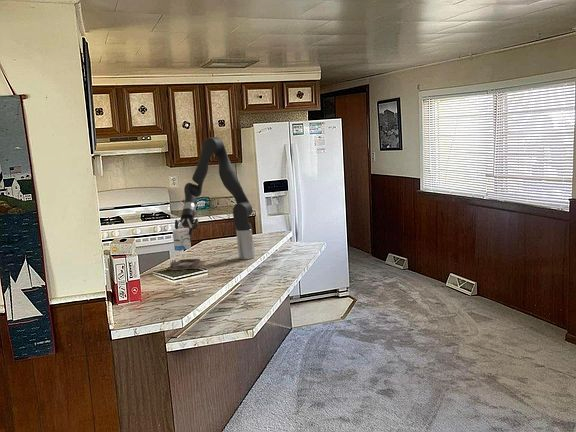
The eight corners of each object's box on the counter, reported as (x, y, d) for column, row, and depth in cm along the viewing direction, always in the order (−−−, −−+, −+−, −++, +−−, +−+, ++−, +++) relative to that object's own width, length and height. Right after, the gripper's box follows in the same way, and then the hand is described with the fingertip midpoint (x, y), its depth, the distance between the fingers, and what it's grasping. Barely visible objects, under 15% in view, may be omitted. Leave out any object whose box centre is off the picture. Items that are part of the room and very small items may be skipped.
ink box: (180, 251, 298) (177, 230, 296) (174, 250, 301) (171, 230, 299) (191, 247, 304) (189, 227, 303) (185, 247, 308) (183, 227, 306)
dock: (205, 262, 311) (205, 256, 311) (196, 269, 294) (195, 263, 293) (176, 263, 314) (176, 257, 313) (165, 271, 296) (164, 264, 296)
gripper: (175, 208, 311) (170, 232, 301) (198, 207, 309) (194, 230, 299) (179, 215, 317) (174, 239, 307) (202, 214, 315) (198, 238, 305)
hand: (184, 234), depth 303 cm, fingers closed on ink box, 6 cm apart
